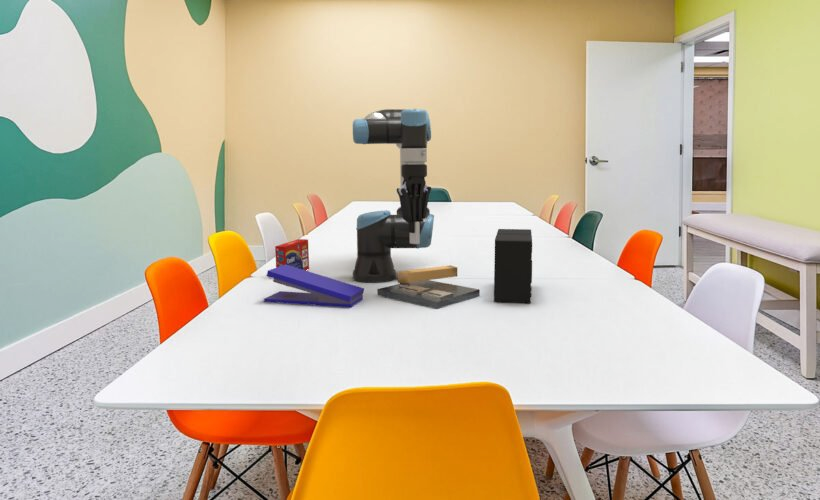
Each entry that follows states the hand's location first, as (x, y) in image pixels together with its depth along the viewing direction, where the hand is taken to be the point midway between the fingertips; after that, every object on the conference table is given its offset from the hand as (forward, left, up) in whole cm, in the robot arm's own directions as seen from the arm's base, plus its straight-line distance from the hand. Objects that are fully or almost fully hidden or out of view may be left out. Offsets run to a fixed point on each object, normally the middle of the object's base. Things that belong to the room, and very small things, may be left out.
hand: (414, 243), depth 175 cm
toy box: (-57, -3, -17) cm, 60 cm away
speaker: (+20, +24, -17) cm, 35 cm away
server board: (+2, +4, -16) cm, 17 cm away
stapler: (-20, -23, -17) cm, 35 cm away
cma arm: (-4, +11, -13) cm, 18 cm away
